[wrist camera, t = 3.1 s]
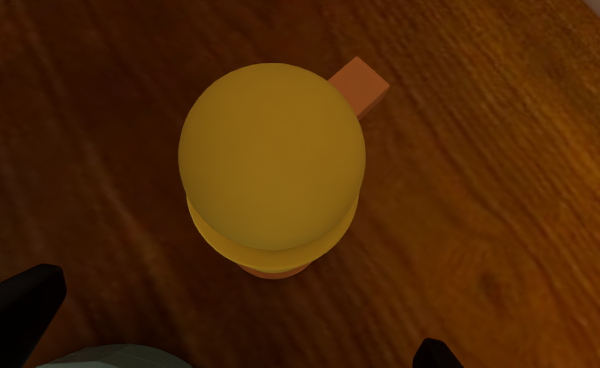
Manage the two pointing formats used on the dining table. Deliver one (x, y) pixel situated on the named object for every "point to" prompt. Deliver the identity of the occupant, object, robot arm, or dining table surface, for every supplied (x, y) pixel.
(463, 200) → the dining table surface
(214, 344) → the dining table surface
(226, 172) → the duck toy
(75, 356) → the pan
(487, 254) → the dining table surface
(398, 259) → the dining table surface
